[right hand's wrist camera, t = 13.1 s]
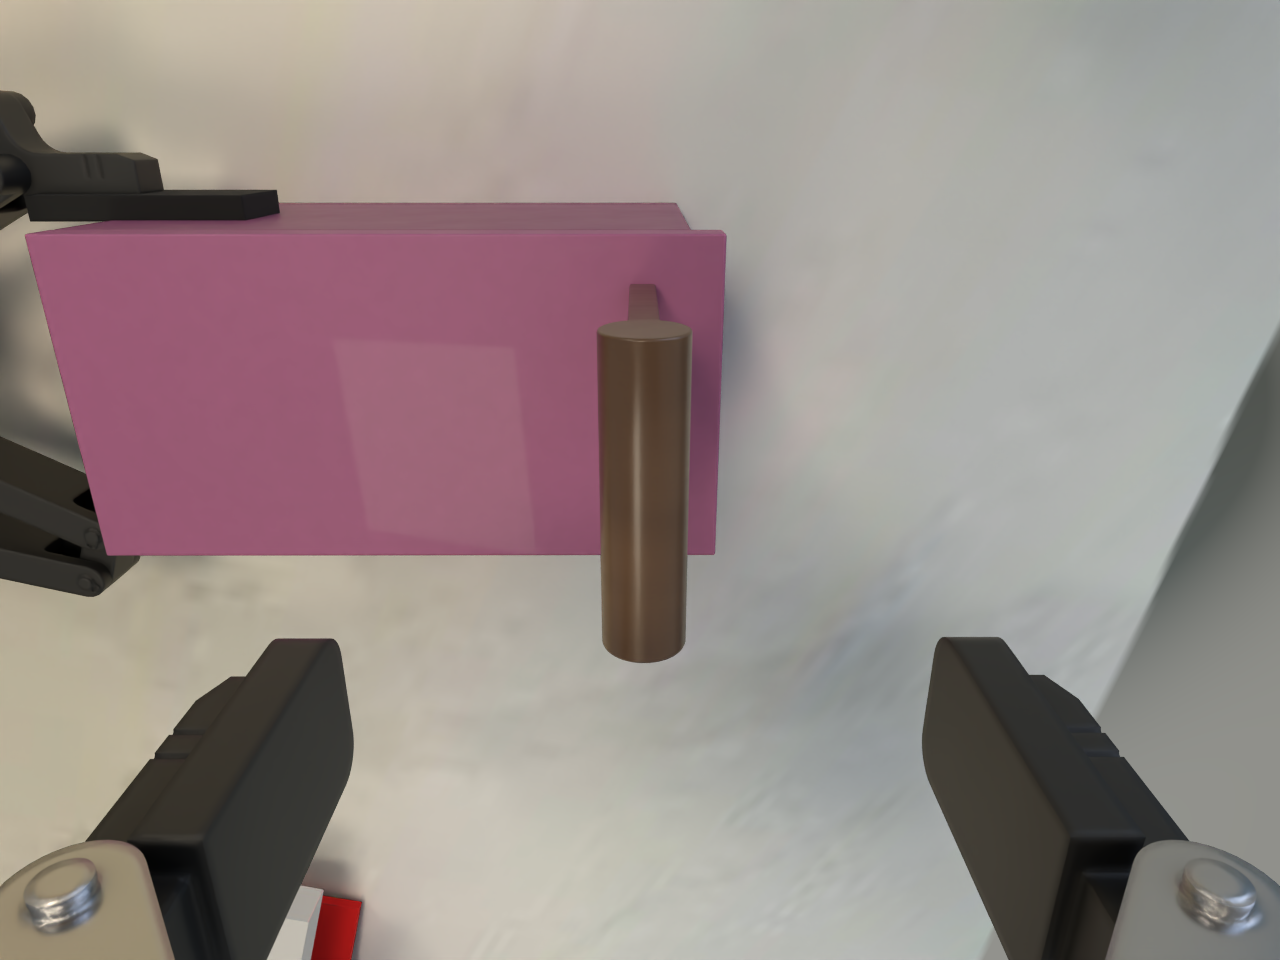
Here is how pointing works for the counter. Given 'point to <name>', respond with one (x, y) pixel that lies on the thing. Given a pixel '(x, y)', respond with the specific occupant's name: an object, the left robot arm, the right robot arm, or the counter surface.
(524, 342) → the lid
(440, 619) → the counter surface
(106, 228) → the chest
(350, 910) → the toy
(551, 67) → the counter surface
